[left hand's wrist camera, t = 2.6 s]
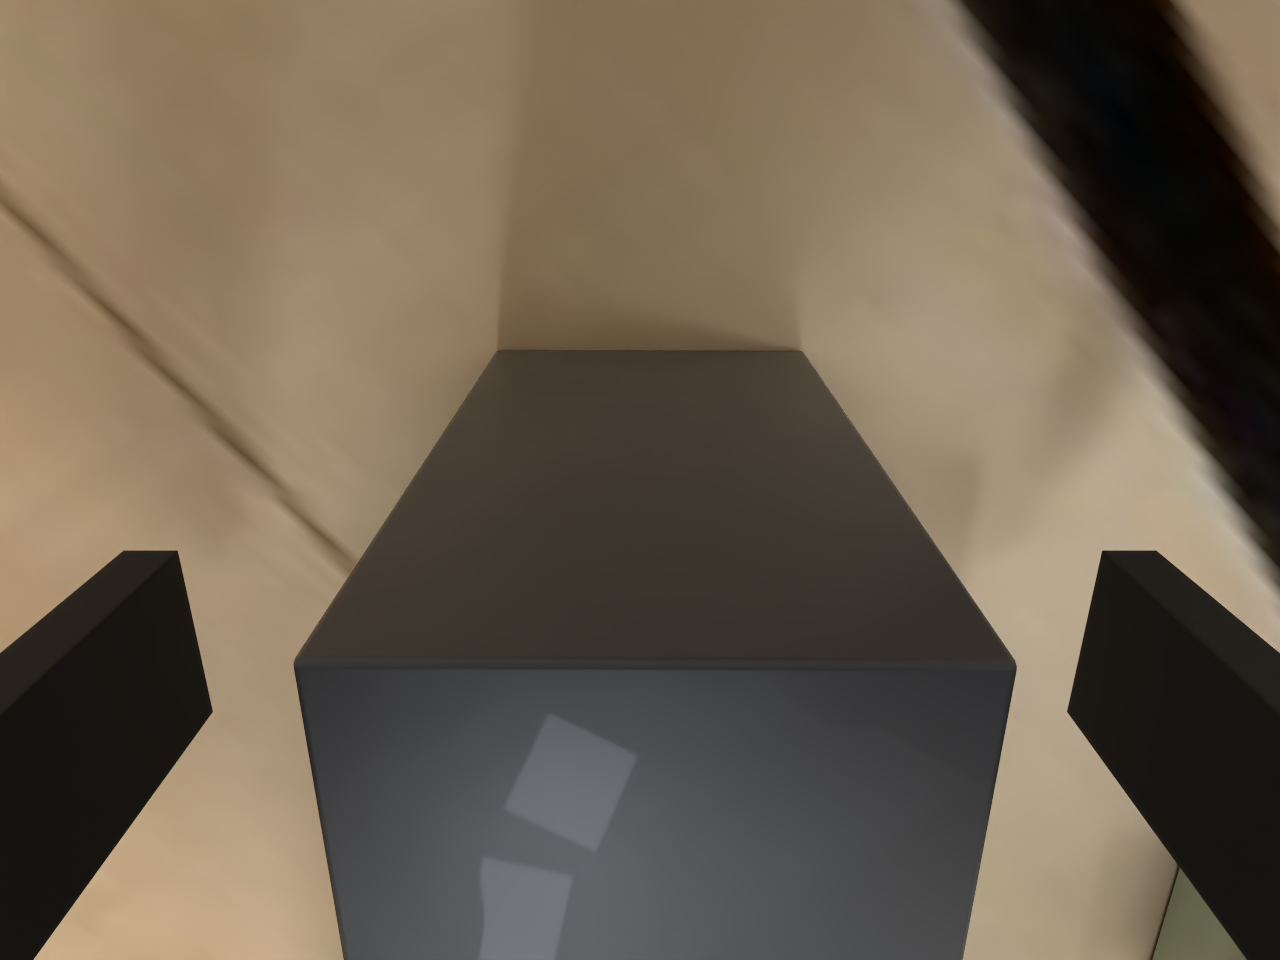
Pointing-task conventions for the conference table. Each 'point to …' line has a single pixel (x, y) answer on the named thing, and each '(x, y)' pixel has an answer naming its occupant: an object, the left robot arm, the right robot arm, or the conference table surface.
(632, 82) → the conference table surface
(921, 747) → the beam
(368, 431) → the conference table surface
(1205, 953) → the sage block
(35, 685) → the left robot arm
